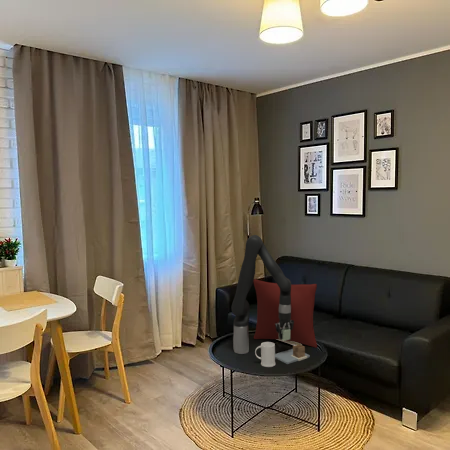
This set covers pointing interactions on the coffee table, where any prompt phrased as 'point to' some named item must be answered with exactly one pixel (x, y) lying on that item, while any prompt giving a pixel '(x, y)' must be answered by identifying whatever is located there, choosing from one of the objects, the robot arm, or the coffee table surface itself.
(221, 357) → the coffee table surface
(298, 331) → the pillow
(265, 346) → the mug
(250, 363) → the coffee table surface
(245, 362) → the coffee table surface
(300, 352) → the walnut block
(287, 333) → the sage block
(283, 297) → the robot arm
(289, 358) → the mat
